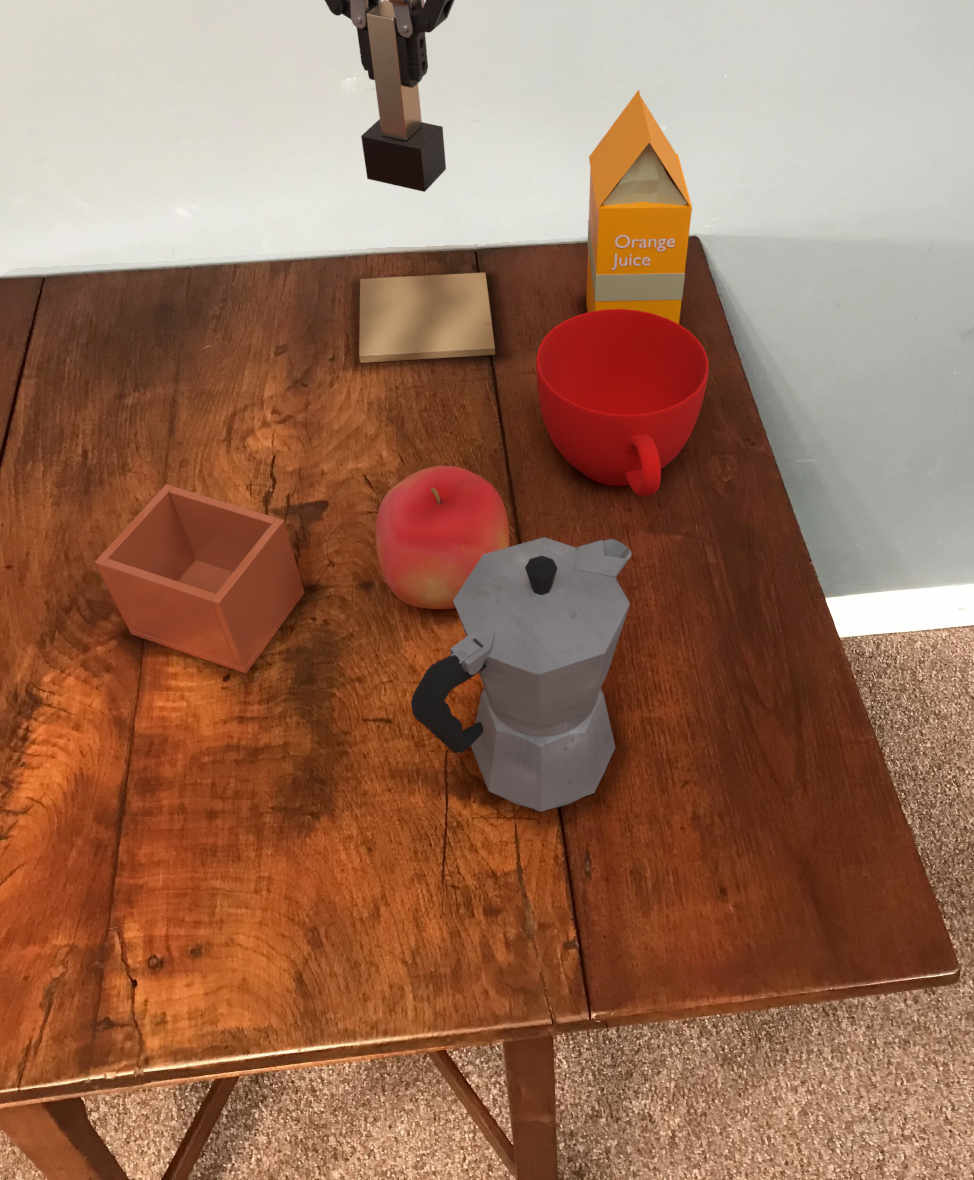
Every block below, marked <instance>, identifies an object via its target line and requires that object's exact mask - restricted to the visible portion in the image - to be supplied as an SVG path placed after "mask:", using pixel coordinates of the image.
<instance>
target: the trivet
mask: <svg viewBox="0 0 974 1180" xmlns="http://www.w3.org/2000/svg"><path fill="white" fill-rule="evenodd" d="M492 321H493V320H492V312H491V304H490V297H489V290H488V281H487V273H486V272H470V273H450V274H449V273H448V274H430V275H429V274H428V275H410V276H408V275H407V276H387V277H371V278H369V277H368V278H360V279H359V326H358V327H359V329H358V330H359V335H358V336H359V339H358V340H359V341H358V357H359V362H360V363H361V364H364V363H383V362H399V361H414V360H416V361H417V360H433V359H449V358H467V357H481V356H482V357H484V356H495V355H496V347H495V346H496V344H495V337H494V330H493V322H492Z"/></svg>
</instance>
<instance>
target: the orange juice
mask: <svg viewBox="0 0 974 1180" xmlns="http://www.w3.org/2000/svg"><path fill="white" fill-rule="evenodd" d="M588 159H589V160H588V162H589V198H588V199H589V200H588V220H587V263H586V264H587V269H586V297H585V299H586V301H585V302H586V311H587V313H588V312H592V311H598V310H605V309H628V310H638V311H643V312H648V313H653V314H656V315H659V316H662V317H665V318H667V319H669V320H671V321H673V322H675V323H677V324H679V325H680V319H681V310H682V309H681V308H682V300H683V296H684V295H683V294H684V289H685V287H684V285H685V278H686V264H687V257H688V247H689V238H690V229H691V220H692V211H693V206H692V202H691V198H690V195H689V194H690V193H689V191H688V187H687V183H686V180H685V179H686V178H685V176H684V172H683V171H684V170H683V168H682V164H681V160H680V156H679V153H676V151H675V150H674V148H673V146H672V144H671V143H670V140H668V138H667V136H666V135H665V134H664V132H663V129H662V128H661V126H660V125H659V124H658V121H657V120H656V118H655V117H654V116H653V113H652V112H651V111H650V109H649V107H648V106H647V104H646V102H645V101H644V99H643V97H642V96H641V92H640V89H638V90H636V93H635V94H634V95H633V96H632V98H631V99H630V101H629V102H628V103H627V104H626V106H625V108H624V109H623V110H622V111H621V113H620V114H619V116H618V117H617V118H616V119H615V121H614V122H613V124H612V125H611V126H610V127H609V128H608V130H607V132H606V133H605V135H604V136H603V137H602V138H601V140H600V141H599V142H598V144H597V145H596V147H594V149H593V151H592V152H591V153H590V155H589V156H588Z"/></svg>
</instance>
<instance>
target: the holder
mask: <svg viewBox="0 0 974 1180" xmlns="http://www.w3.org/2000/svg"><path fill="white" fill-rule="evenodd" d="M94 564H95V566H96V568H97V570H98V572H99V574H100V576H101V578H102V581H103V582H104V584H105V587H106V588H107V591H108V592H109V595H110V596H111V597H112V599H113V601H114V603H115V606H116V607H117V609H118V611H119V613H120V615H121V617H122V619H123V621H124V623H125V625H126V627H127V628H128V630H129V633H130V634H131V635H132V636H134V637H138V638H140V639H144V640H147V641H150V642H152V643H156V644H158V645H161V646H164V647H166V648H167V647H168V648H170V649H173V650H176V651H179V652H182V653H185V654H187V655H190V656H194V657H195V658H199V659H202V660H205V661H207V662H211V663H214V664H216V665H220V666H222V667H225V668H228V669H231V670H234V671H237V672H240V673H242V674H248V672H249V671H250V669H251V668H252V667H253V666H254V664H255V663H256V661H257V660H258V659H259V657H260V656H261V654H262V653H263V652H264V650H265V649H266V648H267V646H268V645H269V643H270V642H271V640H272V639H273V638H274V636H275V635H276V633H277V632H278V631H279V629H280V628H281V626H282V625H283V624H284V623H285V621H286V620H287V619H288V617H289V615H290V614H291V612H292V611H293V610H294V609H295V608H296V606H297V605H298V603H299V602H300V600H301V599H302V598H303V596H304V595H305V593H306V592H305V589H304V585H303V582H302V578H301V575H300V572H299V571H300V570H299V568H298V564H297V561H296V558H295V554H294V550H293V547H292V543H291V540H290V537H289V532H288V530H287V525H286V523H285V520H284V519H283V518H279V517H275V516H272V515H269V514H265V513H262V512H259V511H255V510H252V509H249V508H246V507H243V506H239V505H236V504H233V503H230V502H226V501H224V500H220V499H216V498H213V497H210V496H208V495H207V496H206V495H204V494H200V493H197V492H194V491H191V490H188V489H183V488H180V487H177V486H173V485H171V484H168V483H165V485H163V486H162V488H161V489H159V491H158V492H157V493H156V494H155V495H154V497H153V498H152V499H151V500H150V501H149V502H148V503H147V504H146V505H145V506H144V507H143V508H142V510H141V511H139V513H138V514H137V515H135V517H134V518H133V519H132V520H131V522H130V523H128V525H127V526H126V527H125V528H124V529H123V530H122V531H121V532H120V533H119V534H118V535H117V537H115V539H114V540H113V541H112V542H111V543H110V544H109V545H107V547H106V549H104V551H103V552H102V553H101V554H100V555H99V556H98V557H97V558H96V559H95V560H94Z"/></svg>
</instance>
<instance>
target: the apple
mask: <svg viewBox="0 0 974 1180" xmlns="http://www.w3.org/2000/svg"><path fill="white" fill-rule="evenodd" d="M375 521H376V522H375V530H374V531H375V532H374V533H375V535H374V536H375V550H376V556H377V560H378V565H379V568H380V571H381V574H382V576H383V578H384V581H385V582H386V584H387V586H388V588H389V589H390V590H391V592H392V593H393V594H394V595H395V596H396V597H397V598H398V599H399V600H401V601H402V602H403V603H405V604H407V605H409V606H412V607H415V608H420V609H428V610H454V609H456V607H455V605H454V603H453V600H454V598H455V597H456V595H457V594H458V592H459V591H460V589H461V588H462V586H463V584H464V583H465V581H466V580H467V578H468V577H469V575H470V574H471V572H472V571H473V569H474V568H475V566H476V565H477V563H478V562H479V560H480V558H481V557H482V555H483V554H486V553H490V552H493V551H497V550H500V549H504V548H508V547H510V525H509V517H508V514H507V510H506V507H505V504H504V501H503V499H502V497H501V496H500V494H499V492H498V491H497V489H496V488H495V487H494V486H493V485H492V484H491V483H490V482H488V480H486V479H484V477H482V476H480V475H478V474H476V473H474V472H472V471H470V470H468V469H466V468H463V467H460V466H452V465H436V466H431V467H430V466H429V467H427V468H424V469H420V470H418V471H415V472H414V473H411V474H410V475H408V476H406V477H405V478H403V479H402V480H401V481H399V482H397V483H396V484H395V485H394V486H392V488H391V489H389V490H388V491H387V493H386V494H385V496H384V497H383V499H382V500H381V503H380V505H379V508H378V512H377V514H376V520H375Z"/></svg>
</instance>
